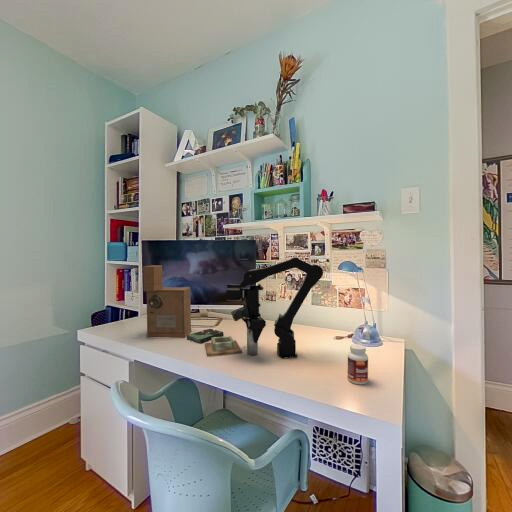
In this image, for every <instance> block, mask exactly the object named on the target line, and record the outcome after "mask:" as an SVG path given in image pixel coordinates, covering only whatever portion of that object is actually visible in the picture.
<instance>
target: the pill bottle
mask: <svg viewBox="0 0 512 512" xmlns="http://www.w3.org/2000/svg"><path fill="white" fill-rule="evenodd" d="M349 348H350V349H349V352H348V353H347V380H348V381H349V382H350V383H352V384H355V385H365V384H367V383H368V382H369V356H368V354H367V353H366V351H367V349H366V346H365V345H364V344H359V343H358V344H355V343H353V344H350V345H349Z"/></svg>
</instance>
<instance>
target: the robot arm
mask: <svg viewBox="0 0 512 512" xmlns="http://www.w3.org/2000/svg"><path fill="white" fill-rule="evenodd" d="M294 268H296V269H298V270H299V271H301V272H303V273H305V275H304V278H303V280H302V284H301V285H300V287H299V288H298V291H296V294H295V295H294V297H293V299H292V301H291V303H290V304H289V306H288V308H287V310H286V311H285V312H284V313H283V314H281V313H279V314H278V316H277V319H276V320H275V321H274V324H273V327H274V329H273V333H274V335H275V336H276V337H277V338H278V340H277V343H276V353H277V355H278V356H279V357H280V358H281V359H287V358H288V359H289V358H290V359H291V358H298V354H297V352H296V351H297V350H296V347H297V346H296V341H297V340H296V338H295V332H294V330H293V329H292V328H291V327H292V324H293V322H294V318H295V317H296V315H297V313H298V312H299V310H300V308H301V307H302V304H303V303H304V302H305V300H306V298H307V297H308V295H309V293H310V291H311V289H312V288H313V287H314V286H315V285H316V284H317V283H318V282H319V281H320V280H321V279H322V277H323V275H324V270H323V268H322V266H320V265H319V264H315V263H314V264H310V263H308V262H307V261H304V260H302V259H300V258H298V257H297V256H294V257H292V258H290V259H287V260H283V261H281V262H278V263H275V264H272V265H269V266H267V267H261V268H254V269H248V270H247V271H245V273H244V275H243V280H242V281H241V282H240V284H233V283H228V284H227V285H226V293H225V300H226V301H227V302H232V301H233V302H236V301H237V302H238V301H239V302H240V301H242V299H244V302H243V304H242V305H243V306H241V307H239V308H237V309H234V310H231V311H230V313H231V316H232V319H233V321H234V322H238V321H239V320H242V322H244V323H245V326H246V330H247V329H249V328H250V329H251V330H252V334H253V340H254V343H257V341H259V340H260V339H259V338H260V337H261V334H262V332H263V330H264V328H265V327H266V326H267V325H266V324H267V323H266V320H265V319H264V318H263V317H261V315H262V314H261V313H260V307H261V303H260V291H263V290H264V287H263V286H262V285H261V283H259V282H261V281H263V280H264V279H266V278H268V277H270V276H275V275H276V274H280V273H283V272H286V271H288V270H292V269H294ZM255 284H257V285H255ZM247 286H249V287H247Z"/></svg>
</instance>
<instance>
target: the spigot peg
mask: <svg viewBox="0 0 512 512" xmlns="http://www.w3.org/2000/svg"><path fill="white" fill-rule="evenodd" d="M258 341H259V340H258ZM258 341H257V343H254V340H253V334H252V330H251V329H250V328H249V329H247V328H246V355H247V356H249V357H255V356H258V355H259V342H258Z"/></svg>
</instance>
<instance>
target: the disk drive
mask: <svg viewBox="0 0 512 512" xmlns="http://www.w3.org/2000/svg"><path fill="white" fill-rule="evenodd" d="M224 333H225V332H224V331H221V330H218V329H215V330H214V329H213V328H208V329H204V330H200V331H197V332H194V333H190V334H189V335H187V337H186V340H187V341H189V340H190V342H192V341H193V343H195V344H199V345H201V344H205V343H209V342H211V338H213V337H224V336H225V335H224Z"/></svg>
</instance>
